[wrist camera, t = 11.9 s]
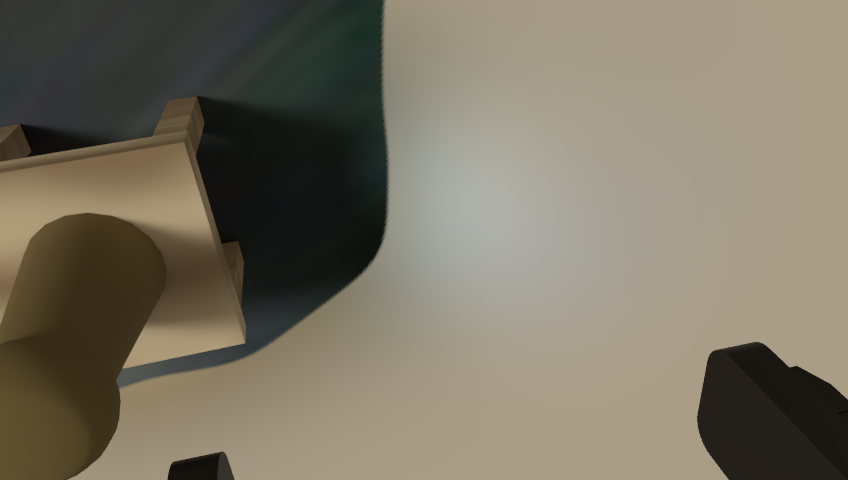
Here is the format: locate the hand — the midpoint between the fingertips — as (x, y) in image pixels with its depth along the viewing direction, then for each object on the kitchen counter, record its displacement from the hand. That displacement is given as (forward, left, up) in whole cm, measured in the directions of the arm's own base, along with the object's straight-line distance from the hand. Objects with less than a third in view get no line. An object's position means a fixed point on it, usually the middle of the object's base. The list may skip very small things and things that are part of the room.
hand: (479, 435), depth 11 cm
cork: (+7, -13, -21) cm, 25 cm away
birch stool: (+7, -13, -29) cm, 32 cm away
